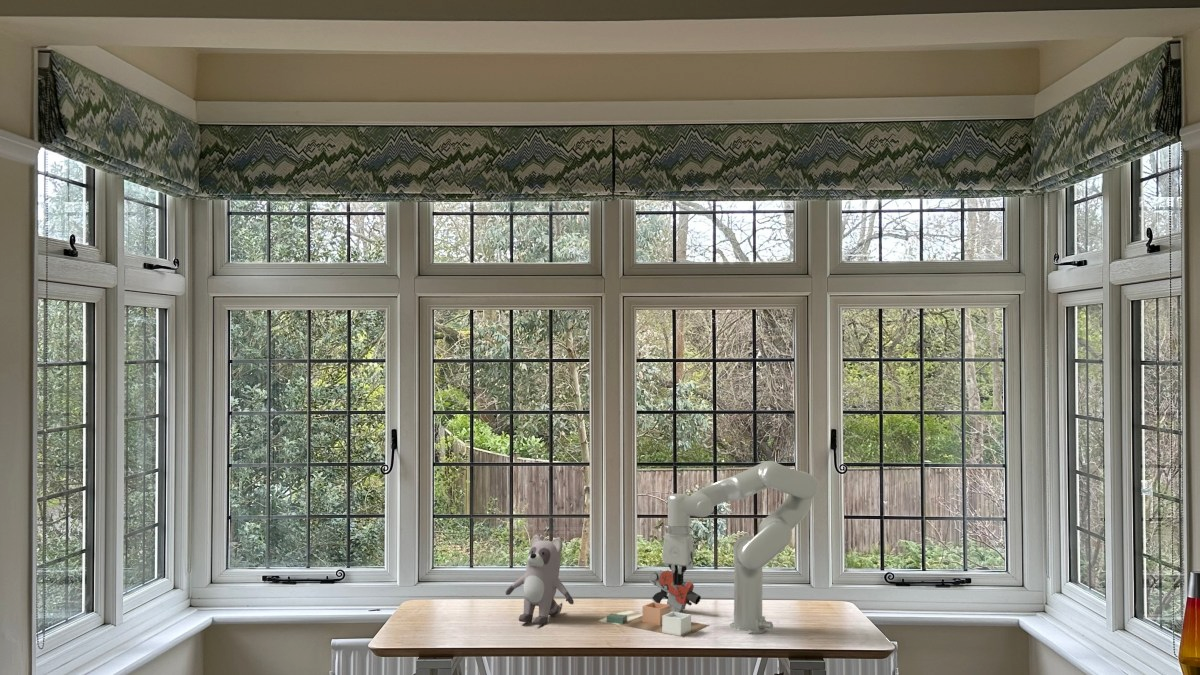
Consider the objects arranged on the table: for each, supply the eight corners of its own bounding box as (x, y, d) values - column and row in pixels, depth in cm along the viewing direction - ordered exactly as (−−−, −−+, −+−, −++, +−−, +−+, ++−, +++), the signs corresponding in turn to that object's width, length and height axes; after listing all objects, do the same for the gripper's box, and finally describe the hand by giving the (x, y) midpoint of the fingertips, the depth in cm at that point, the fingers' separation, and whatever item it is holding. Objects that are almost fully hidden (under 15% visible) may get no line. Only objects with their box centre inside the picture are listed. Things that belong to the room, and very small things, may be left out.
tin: (627, 621, 328) (627, 615, 328) (622, 623, 324) (622, 618, 324) (611, 619, 330) (611, 613, 330) (606, 621, 326) (606, 616, 327)
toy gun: (686, 627, 336) (698, 589, 334) (642, 600, 348) (653, 563, 346) (692, 625, 339) (704, 587, 337) (648, 598, 351) (659, 561, 349)
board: (709, 628, 324) (709, 625, 324) (683, 641, 309) (683, 637, 309) (625, 613, 343) (625, 609, 343) (597, 624, 328) (597, 620, 328)
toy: (514, 632, 317) (514, 545, 317) (504, 615, 338) (504, 534, 338) (574, 627, 323) (574, 542, 323) (560, 611, 343) (560, 530, 343)
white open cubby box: (691, 631, 316) (691, 614, 316) (680, 636, 310) (680, 619, 310) (672, 627, 320) (672, 611, 320) (662, 632, 314) (662, 615, 314)
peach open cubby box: (670, 621, 328) (670, 605, 329) (659, 625, 323) (660, 609, 323) (652, 617, 332) (652, 602, 333) (642, 622, 327) (642, 606, 327)
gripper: (654, 529, 325) (653, 583, 324) (692, 534, 316) (692, 589, 316) (665, 526, 331) (664, 579, 330) (703, 531, 323) (702, 585, 322)
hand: (678, 584), depth 323 cm, fingers closed
